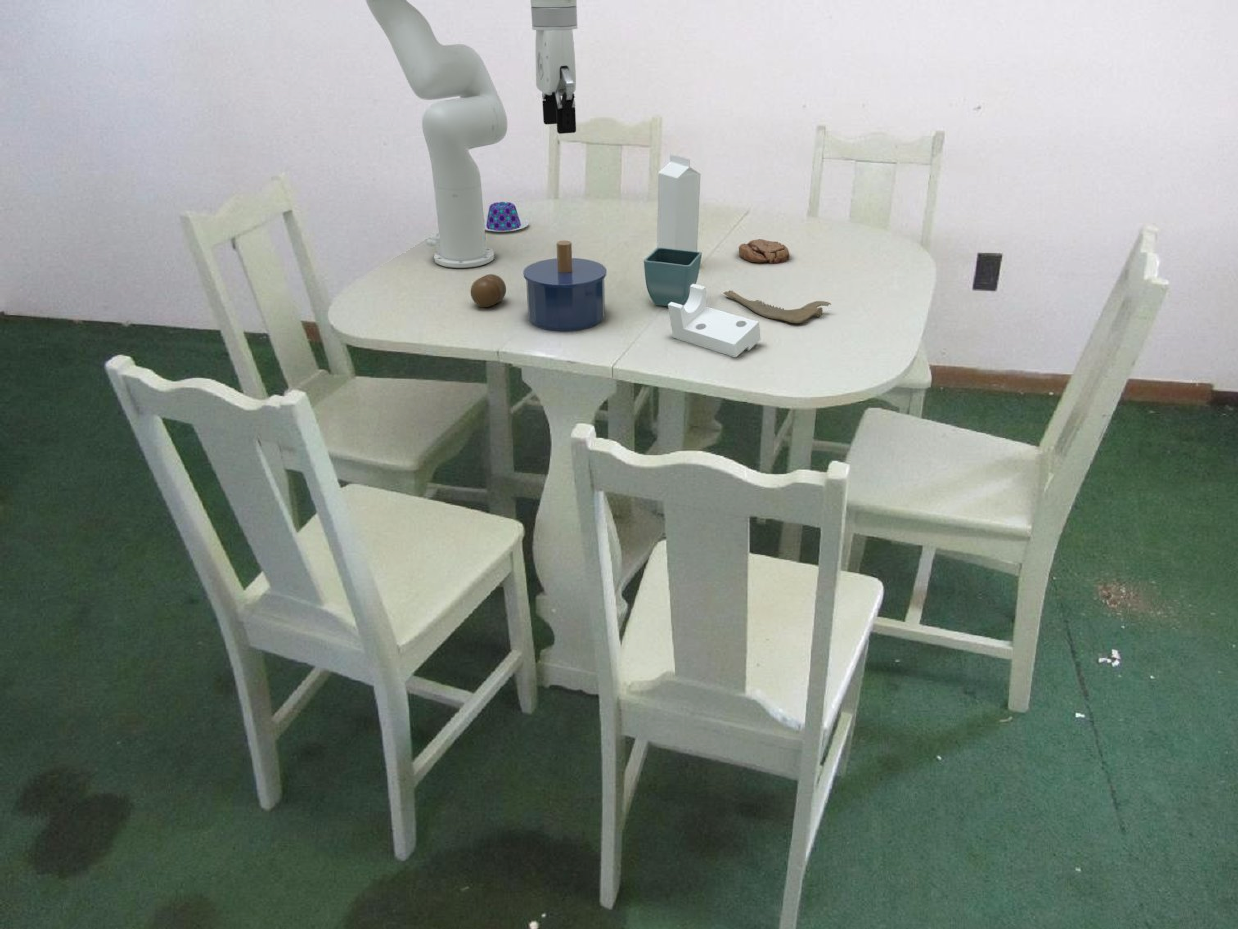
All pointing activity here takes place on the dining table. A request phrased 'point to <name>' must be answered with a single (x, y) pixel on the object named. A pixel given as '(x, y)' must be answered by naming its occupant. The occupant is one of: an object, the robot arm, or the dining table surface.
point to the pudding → (504, 218)
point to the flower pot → (671, 274)
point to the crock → (566, 306)
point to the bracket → (711, 325)
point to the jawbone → (778, 313)
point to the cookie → (764, 251)
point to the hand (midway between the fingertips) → (559, 128)
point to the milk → (678, 205)
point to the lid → (565, 270)
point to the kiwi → (488, 290)
